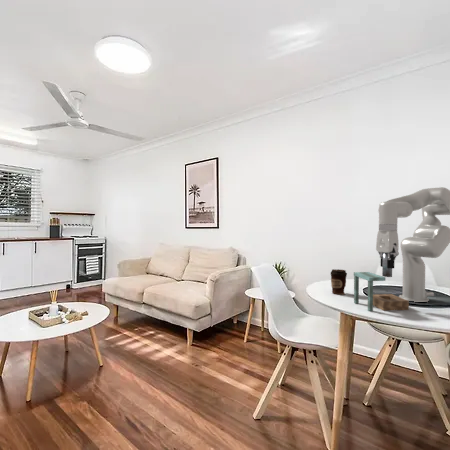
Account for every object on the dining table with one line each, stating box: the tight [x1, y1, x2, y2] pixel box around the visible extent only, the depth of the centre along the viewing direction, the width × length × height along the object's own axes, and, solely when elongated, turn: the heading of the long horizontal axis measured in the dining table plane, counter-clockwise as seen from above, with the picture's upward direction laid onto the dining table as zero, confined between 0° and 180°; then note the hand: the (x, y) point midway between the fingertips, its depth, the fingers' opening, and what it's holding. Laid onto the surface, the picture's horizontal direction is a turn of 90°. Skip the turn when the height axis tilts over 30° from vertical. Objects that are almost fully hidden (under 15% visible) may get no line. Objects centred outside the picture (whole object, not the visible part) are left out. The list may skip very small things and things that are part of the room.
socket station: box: [353, 271, 410, 312], centre depth 133 cm, size 19×13×15 cm
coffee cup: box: [330, 268, 348, 296], centre depth 157 cm, size 9×8×13 cm
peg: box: [381, 252, 393, 278], centre depth 133 cm, size 4×4×12 cm
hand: (387, 267), depth 133 cm, fingers closed on peg, 4 cm apart
